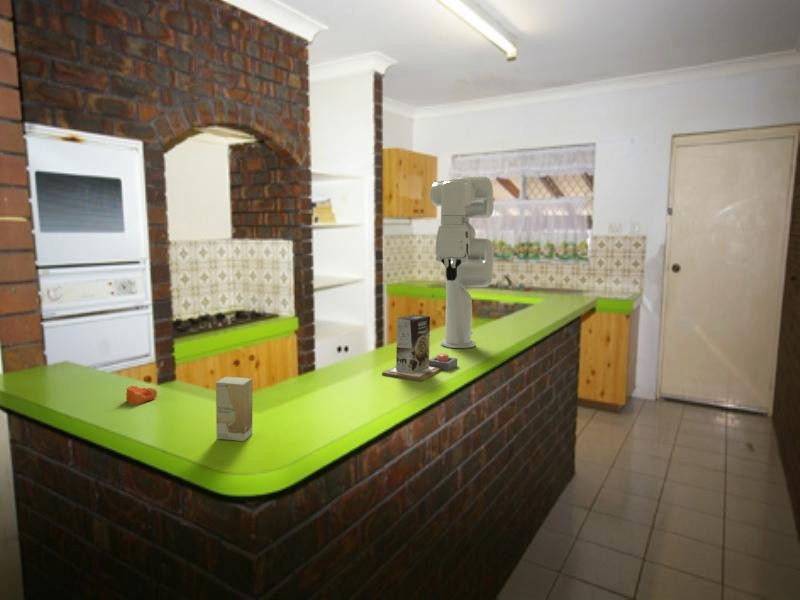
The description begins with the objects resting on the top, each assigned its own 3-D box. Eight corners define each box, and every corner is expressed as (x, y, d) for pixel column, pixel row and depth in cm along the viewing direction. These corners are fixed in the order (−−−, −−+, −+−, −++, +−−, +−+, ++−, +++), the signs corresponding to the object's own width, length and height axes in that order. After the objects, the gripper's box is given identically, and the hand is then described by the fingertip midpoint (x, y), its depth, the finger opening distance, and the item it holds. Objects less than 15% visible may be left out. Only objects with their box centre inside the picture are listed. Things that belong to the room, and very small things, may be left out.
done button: (439, 363, 168) (440, 353, 168) (450, 364, 167) (450, 354, 166) (435, 365, 165) (435, 355, 165) (445, 367, 164) (445, 357, 163)
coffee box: (413, 374, 153) (413, 320, 151) (395, 370, 157) (396, 317, 155) (430, 367, 161) (431, 315, 158) (412, 364, 165) (413, 313, 162)
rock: (179, 400, 134) (178, 383, 133) (134, 415, 123) (133, 397, 122) (148, 392, 140) (147, 376, 139) (102, 405, 129) (101, 388, 128)
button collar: (437, 362, 171) (437, 355, 170) (457, 365, 167) (457, 358, 167) (427, 367, 165) (427, 360, 164) (448, 370, 161) (448, 363, 161)
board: (404, 364, 168) (404, 361, 168) (441, 370, 162) (441, 367, 162) (382, 374, 156) (382, 371, 156) (421, 381, 150) (421, 378, 150)
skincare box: (215, 439, 108) (213, 382, 106) (226, 431, 112) (224, 375, 111) (245, 441, 107) (243, 383, 105) (254, 433, 111) (252, 377, 110)
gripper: (479, 222, 164) (477, 280, 166) (436, 221, 171) (435, 277, 173) (470, 221, 157) (468, 282, 160) (426, 221, 164) (424, 279, 167)
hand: (451, 280), depth 167 cm, fingers closed
